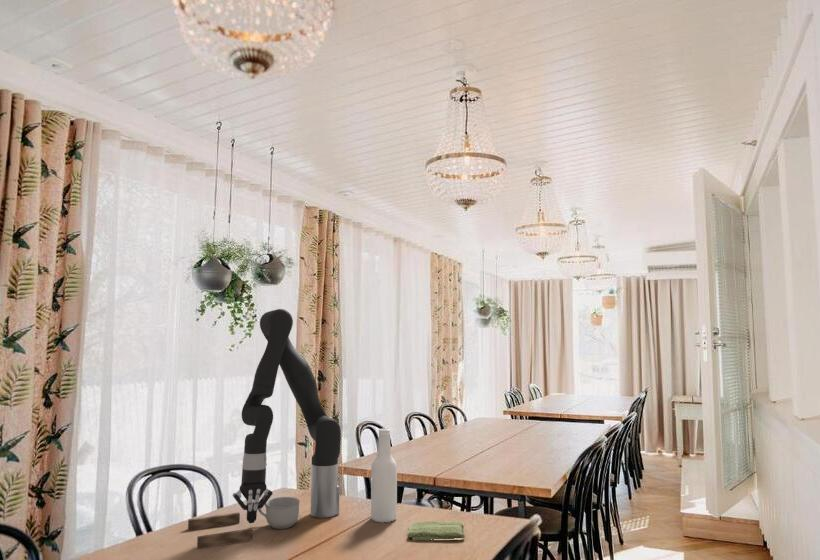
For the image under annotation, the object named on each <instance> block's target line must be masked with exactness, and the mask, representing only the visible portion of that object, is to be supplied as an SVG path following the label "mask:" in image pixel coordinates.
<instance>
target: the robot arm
mask: <svg viewBox="0 0 820 560" xmlns="http://www.w3.org/2000/svg"><path fill="white" fill-rule="evenodd" d="M293 320H294V319H293V316H292V314H291V313H290V311H288V310H286V309H285V308H277V309H273V310H270V311H266V312H265V313H263V314H262V315H261V317H260V320H259V328H260V330H261V331H260V332H262V334H263V336H264V339H266V341H267V344H266V348H265V349H264V352H263V354H262V356H261V358H260V360H259V363H258V365H257V367H256V370H255V373H254V378H253V383H252V388H251V391H250V392H249V394H248V396H247V398H246V399H245V402H244V404H243V406H242V410H241V420H242V422H243V424H245V425H246V426H251V427H254V430H253V432H252V433H249V434H246V436H245V437H244V446H243V447H244V448H243V450H244V451H243V456H242V464H241V465H242V466H241V467H242V469H241V482H240V483H241V484H240V485H239V490H238V491H236V492H233V494H232V497H233V498H234V500H235V501H236V502H237V504H238V506H240V507H241V509H242V510H243V511H246V520H247V522H248V523H249V524H255V522H256V521H257V513H258V509H259V508H264V506H265V503H266V502H267V501H269V500H270V499H271V497H272V495H273V494H274V493H273V491H272V490H271V489H269V488H267V484H266V477H267V465H268V463H267V446H268V445H267V443H268V442H267V441H268V438H269V435H270V431H271V428H272V425H273V421H274V413H273V412H274V411H273V410H272V407H271V406H269V405H267V404H263V402H264V401H265V400H266V399H269V398H271V397H272V396H273V394H274V391H275V389H274V388H275V385H276V380H277V376H278V375H277V374H278V371H279V366H280V369H281V371H282V373H283V375H284V378H285V380H286V382H287V385H288V387H289V389H290V391H291V393H292V395H293V396H294V398H295V401H296V403H297V405H298V406H299V408H300V410H301V412H302V414H303V418H304V420H305V423H306V427H307V429H308V430H307V431H308V432H309V433H308V434H309V435H310V437H311V438H312V440H313V441H315V449H314V450H315V451H314V454H312V455H311V469H310V470H311V474H310V475H311V479H310V480H311V482H310V483H311V484H310V516H312V517H314V518H320V519H322V518H323V519H325V518H330V517H334V516H337V515H340V494H341V493H340V487H341V486H340V485H339V484H338V478H339V477H338V475H339V473H338V472H339V471H338V469H339V462H338V461H339V457H340V455H341V442H342V441H341V439H342V433H341V431H342V430H341V426H340V424H339V422H338V421H337V420H336V419H333V418H331V417H329V416H328V414H327V413H326V411H325V410H324V408H323V406H322V403H321V401H320V397H319V391H318V385H317V382H316V377H315V376H314V375H315V374H314V372H313V371H312V368H311V366H310V365H309V363H308V361H307V360H306V358H304V356H303V355H302V354H301V353H300V352H299V350H297V349H296V348H295V346H294V345H293V343H292V342H291V340H290V337H289V336H290V334H291V331H292V328H293V323H294V321H293ZM242 496H243V497H244V498H245V502H246V504H245V503H244V501H243V500H242ZM261 497H262V498H261Z"/></svg>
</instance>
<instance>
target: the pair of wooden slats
mask: <svg viewBox="0 0 820 560" xmlns="http://www.w3.org/2000/svg"><path fill="white" fill-rule="evenodd" d="M240 516H241V513H240V512H231V513H224V514H219V515H209V516H203V517H195V518H189V519H187V520H188V522H187V530H188V531H194V530H200V529H201V530H202V529H208V528H213V527H221V526H220V525H222V526H227V525H226V524H229V525H233V523H235V524H240V523H241V522H240V519H241V517H240ZM196 540H197V541H196V548H197V549H204V548H205V549H206V548H212V547H218V546H223V544H224V545H230V544H235V542H236V543H240V542H241V543H242V542H248V541H253V540H254V528H253V527H251V528H244V529H238V530H232V531H225V532H224V531H223V532H219V533H218V532H217V533H212V534H205V535H199V536H197V539H196ZM229 543H230V544H229Z"/></svg>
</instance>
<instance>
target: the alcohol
mask: <svg viewBox="0 0 820 560" xmlns="http://www.w3.org/2000/svg"><path fill="white" fill-rule="evenodd" d="M377 441H378V442H377V443H378V444H377V445H378V446H377V455H376V457H375V458H374V459H373V461H372V464H371V469H370V470H371V472H370V473H371V474H370V475H371V476H370V477H371V479H370V480H371V482H370V484H371V485H370V489H371V490H370V519H372V521H373V522H375V523H379V522H380V523H382V524H385V523H386V522H387V523H392V522H395V520H396V519H397V517H398V515H397V514H398V513H397V511H398V465H397V462H396V460H395V459H394V458H393V455H392V448H391V447H392V446H391V429H390V428H386V427H385V428H379V429H378V440H377ZM391 521H392V522H391ZM384 522H385V523H384ZM387 523H386V524H387Z"/></svg>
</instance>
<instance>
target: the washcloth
mask: <svg viewBox="0 0 820 560" xmlns="http://www.w3.org/2000/svg"><path fill="white" fill-rule="evenodd" d="M407 531H408V532H407V535H406V536H407V537H408V538H411V539H412V540H431V539H432V540H434V539H454V538H464V539H465V537H466V536H465V533H464V524H463V522H461V521H460V520H457V519H456V520H450V521H446V520H436V521H429V520H428V521H425V520H424V521H415V522H412V523H411V524H410V525H409V528H408V529H407Z"/></svg>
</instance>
